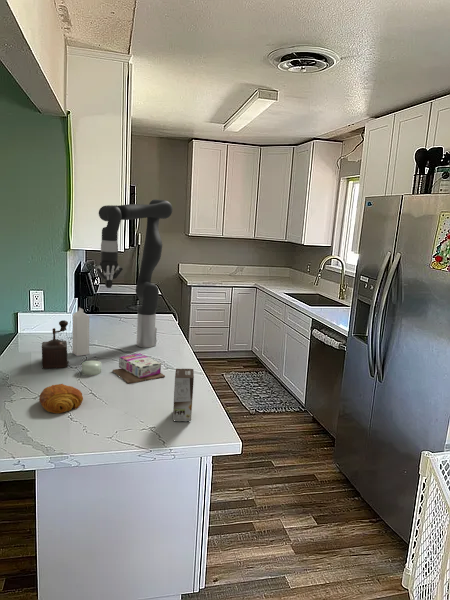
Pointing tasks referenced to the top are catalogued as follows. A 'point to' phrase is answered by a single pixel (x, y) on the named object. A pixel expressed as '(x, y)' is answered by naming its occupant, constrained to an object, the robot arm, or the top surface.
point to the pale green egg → (91, 368)
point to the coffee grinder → (55, 351)
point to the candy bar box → (140, 365)
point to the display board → (132, 378)
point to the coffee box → (183, 394)
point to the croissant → (60, 398)
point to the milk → (80, 333)
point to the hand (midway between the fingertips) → (108, 287)
